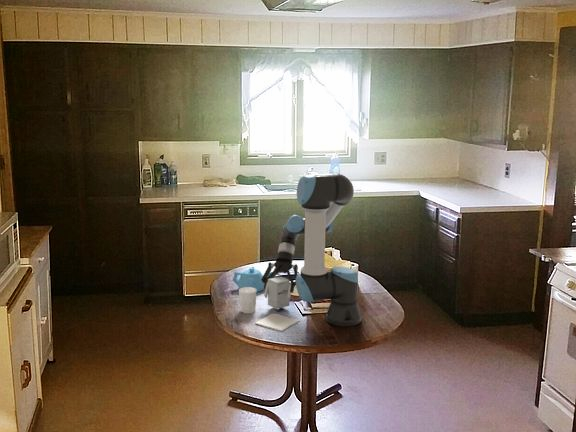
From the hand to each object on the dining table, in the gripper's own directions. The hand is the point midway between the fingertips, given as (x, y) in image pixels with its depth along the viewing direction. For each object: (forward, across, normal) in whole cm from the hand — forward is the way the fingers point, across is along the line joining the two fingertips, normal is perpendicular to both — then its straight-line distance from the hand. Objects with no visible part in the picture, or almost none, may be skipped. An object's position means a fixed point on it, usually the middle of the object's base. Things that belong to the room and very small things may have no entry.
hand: (276, 297), depth 278 cm
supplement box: (+2, 0, -6) cm, 6 cm away
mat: (+14, -4, +5) cm, 15 cm away
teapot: (-14, +20, -23) cm, 33 cm away
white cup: (+7, +13, -3) cm, 15 cm away
